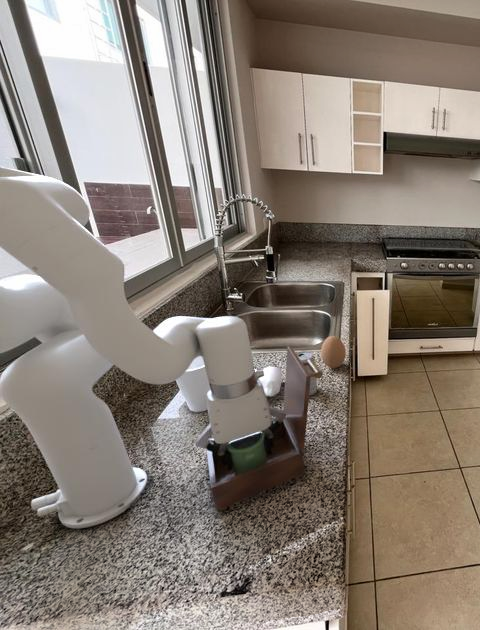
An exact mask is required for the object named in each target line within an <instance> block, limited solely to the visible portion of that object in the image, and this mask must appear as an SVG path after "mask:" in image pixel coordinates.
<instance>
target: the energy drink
mask: <svg viewBox="0 0 480 630" xmlns="http://www.w3.org/2000/svg"><path fill="white" fill-rule="evenodd" d="M296 354H297V356H298V357H299V359H300V360H301V362H307V360H309V359H313V360H314V361H315V355H314V354H313V352H311V351H307V350H306V351H305V350H304V351H299V352H296ZM305 368H306V369H307V371H308V372H309V373H312V372H311V370H310V369H309V367H308V366H305ZM315 393H318V382H317V378H316V377H311V379H310V390H309V396H312V395H314V394H315Z"/></svg>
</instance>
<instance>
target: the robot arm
mask: <svg viewBox="0 0 480 630" xmlns="http://www.w3.org/2000/svg"><path fill="white" fill-rule="evenodd" d="M90 216H91V215H90V208H89V205H88V203H87V201H86V199H85V198H84V197H83V196H82V194H81V193H79V192H78V191H77V190H76V189H75V188H74V187H72V186H70V185H69V184H67V183H65V182H64V181H61V180H59V179H56V178H54V177H51V176H46V175H42V174H37V173H34V172H33V173H32V172H27V171H24V170H23V171H22V170H18V169H14V168H9V167H4V166H0V248H1V249H2V250H3V251H5V252H6V253H7V254H9V255H10V256H11V257H13V258H14V259H15V260H17V261H18V262H19V263H21V264H22V265H24V266H25V267H26V268H27V269H28V270H30V271H31V272H32V273H34V274H17V275H11V276H6V277H3V278H1V279H0V354H2V353H6V352H8V351H10V350H11V351H12V350H13V349H15V348H17V347H19V346H21V345H23V344H25V343H27V342H28V341H30V340H32V339H33V338H36V339H37V340H38V341H39V342H40V344H38V345H36V346H35V347H33V348H31V349H30V350H28V351H26V352H25V353H24V354H21V355H20V356H19V357H18V358H17V359H15V360H14V361H12V362H11V363H10V364H9V365H8V366H7V367H6V368H5V369H4V370H3V372H2V374H1V375H0V397H1V399H2V400H3V402H4V403H5V404H6V405H7V406H8V407H9V408H10V409H11V410H12V411H13V412H14V413H15V414H16V415H17V416H18V417H19V419H20V420H21V421H22V422H23V423H24V425H25V427H26V428H27V430H28V431H29V433H30V434H31V437H32V438H33V440H34V442H35V444H36V446H37V448H38V449H39V451H40V453H41V455H42V458H43V459H44V461H45V463H46V465H47V467H48V469H49V471H50V472H51V475H52V477H53V478H54V481H55V483H56V484H57V487H58V489H57V490H56V491H55V492H53V493H50V494H46V495H43V496H39V497H37V498H34V499H32V500H31V502H30V505H31V506H30V507H31V510H32V511H36V515H37V516H38V517H39V518H41V517H44V516H46V515H48V514H51V513H53V512H58V515H57V516H58V519H59V521H60V523H61V524H62V525H63V526H64V527H66V528H70V529H84V528H91V527H94V526H97V525H100V524H102V523H105V522H107V521H110V520H112V519H114V518H115V517H118V516H119V515H120V514H122V513H124V512H125V511H127V510H128V509H129V508H130V507H131V504H132V503H133V502H134V501H136V499H137V498H139V497H140V496H141V495H142V493H143V491H144V490H145V488H146V486H147V485H148V475H147V473H146V471H145V470H144V469H142V468H140V467H135V466H133V465H132V462H131V459H130V457H129V454H128V452H127V449H126V447H125V444H124V442H123V439H122V436H121V434H120V431H119V428H118V425H117V423H116V419H115V418H114V416H113V414H112V411H111V409H110V407H109V405H108V404H107V403H106V402H105V401H104V400H103V399H101V398H100V397H98V396H97V395H96V394H95V393H94V391H93V387H94V385H95V384H96V383H97V382H98V381H99V380H100V379H101V378H102V377H103V376H104V375H105V374H107V372H108V371H110V369H112V367H113V366H115V367H117V368H118V369H119V370H120V371H122V372H124V373H125V374H127V375H128V376H130V377H131V378H134V379H136V380H137V381H140V382H142V383H145V384H150V385H166V384H170V383H173V382H176V379H178V378H179V377H181V376H182V375H183V374H184V373H185V371H186V370H187V369H188V367H189V366H190V364H191V363H192V361H193V360H194V359H195V358H197V357H198V356H202V357H203V361H204V365H205V369H206V373H207V377H208V381H209V385H210V390H209V391H208V393H207V408H208V410H207V414H208V419H209V420H208V421H209V424H208V425H207V426H206V427H205V428H204V429H203V430H202V432H201V433H200V434H199V435H198V436H197V437H196V438H195V441H194V442H195V446H196V447H199V448H201V449H205V450H206V449H207V450H208V451H211V452H215V453H218V455H219V456H221V460H222V464H223V466H224V465H226V464H227V467H228V470H231V469H232V464H231V459H230V455H229V451H228V450H227V446H228V444H229V442H230V441H233V440H236V439H239V438H242V437H245V436H248V435H251V434H254V433H257V432H260V431H261V432H262V433H264V434H265V439H264V441H265V447H266V450H267V453H268V455H271V454H272V452H271V448H272V447H274V444H273V438H272V437H273V436H274V433H275V431H276V430H277V429H278V428H279V426H280V423H282V421H283V420H284V418H285V417H286V414H285V412H284V411H283V410H282V409H279V408H277V407H274V406H271V405H269V402H268V397H267V396H266V394H265V391H264V388H263V385H262V383H261V381H260V379H259V378H260V377H263V376H264V371H263V369H256V368H255V364H254V358H253V354H252V353H253V352H252V348H251V341H250V337H249V331H248V326H247V323H246V322H245V320H243V319H242V318H241V317H238V316H234V315H224V316H217V317H213V318H211V317H199V316H198V317H197V316H186V315H185V316H183V315H178V316H172V317H169V318H166V319H164V320H163V321H162V322H160V323H159V324H158V325H157V326H156V327H154V329H153V330H152V329H151V328H150V327H149V326H147V325H146V324H145V323H144V322H143V321H142V320H141V319H140V318H139V317H138V316H137V315H136V314H135V312H134V311H133V310H132V308H131V306H130V304H129V303H128V299H127V298H126V293H125V264H124V262H123V261H122V259H121V258H120V257H119V256H118V255H116V254H115V253H114V252H113V251H112V250H111V249H109V248H108V247H107V246H106V245H105V244H104V243H103V242H101V240H100V239H98V238H97V237H96V236H94V234H93V233H91V232H90V231H89V230H88V229H87V228H86V227H85V226H86V225H87V223H88V222H89V220H90ZM272 417H273V418H275V419H273V418H272ZM271 419H273V420H271ZM211 436H212V438H214V440H215V441H213V440H209V439H210V437H211Z"/></svg>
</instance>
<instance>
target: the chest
mask: <svg viewBox="0 0 480 630" xmlns="http://www.w3.org/2000/svg"><path fill="white" fill-rule="evenodd" d="M273 419H275V417H273V418H271V420H273ZM272 438H273V444H274V447H272V448H271V452H272V454H271V455H268V453H267V458H268V463H266V464H263V465H261V466H258V467H256V468H253V469H251V470H248V471H245V472H243V473H240V474H238V475H234V471H233V467H232V469H231V470H228V467H227V464H226V465H224V466H223V464H222V460H221V456H219V455H218V453H215V452H211V451H208V450H207V449H205V450H206V451H205V452H206V458H207V466H208V475H209V484H210V490H211V494H212V497H213V503H214V506H215V509H216V511H217V512H218V511H220V510H223V509H225V508H227V507H228V508H229V507H230V506H233V505H234V504H237V503H239V502H242V501H244V500H246V499H249V498H252V497H254V496H256V495H258V494H260V493H263V492H266V491H267V490H270V489H273V488H274V487H277V486H279V485H281V484H284V483H286V482H289V481H291V480H293V479H296V478H298V477H301V476H303V475H305V474H306V471H305V462H304V456H303V451H300V450H299V448H298V445H297V443H296V441H295V439H294V436H293V434H292V432H291V430H290V427H289V425H288V423H287V421H286V419H285V418H284V420H283V421H282V423H280V426H279V428H278V429H277V430H276V431H275V433H274V436H273V437H272ZM208 440H213V441H215V440H214V438H213V437H212V438H208ZM266 452H267V450H266ZM229 455H230V454H229ZM230 459H231V458H230ZM231 464H232V462H231Z"/></svg>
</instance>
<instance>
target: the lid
mask: <svg viewBox="0 0 480 630" xmlns="http://www.w3.org/2000/svg"><path fill="white" fill-rule="evenodd" d="M305 366H308V367H309V369H310V370H311V372H312V373H309V372H308V371H307V369H306V368H305ZM323 375H324V374H323V371H322V370H321V368H320V367H319V366H318V364H317V363H316V362H315V359H314V360H313V359H309V360H307V362H301V360H300V359H299V357H298V356H297V352H296V351H295V349H294V348H293V347H292V345H290V346H287V349H286V366H285V378H284V379H285V381H284V393H283V408H282V409H283V410H282V411H284V412H285V414H286V417H285V419H286V421H287V423H288V425H289V427H290V430H291V432H292V434H293V436H294V439H295V441H296V443H297V445H298V448H299V450H300V451H302V452H303V451H305V444H306V432H307V422H308V411H309V401H310V400H309V399H310V395H309V390H310V379H311V377H316V379H321V378H322V377H323Z"/></svg>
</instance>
